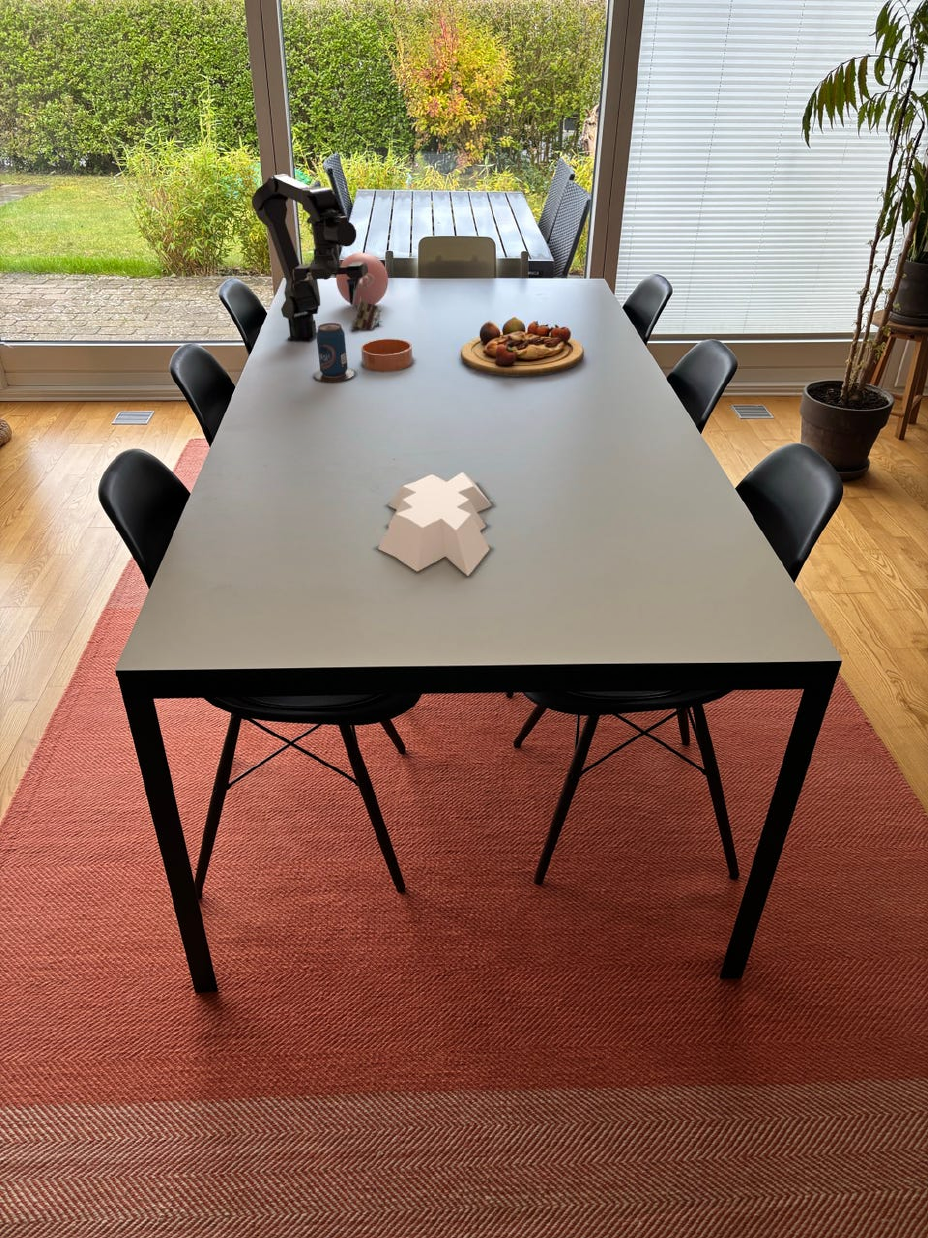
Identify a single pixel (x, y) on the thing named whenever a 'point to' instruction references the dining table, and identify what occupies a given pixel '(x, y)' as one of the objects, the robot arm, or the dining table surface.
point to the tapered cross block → (437, 523)
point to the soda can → (332, 350)
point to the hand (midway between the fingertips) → (335, 305)
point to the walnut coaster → (322, 378)
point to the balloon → (365, 280)
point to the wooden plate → (522, 349)
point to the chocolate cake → (366, 316)
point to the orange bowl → (386, 354)
